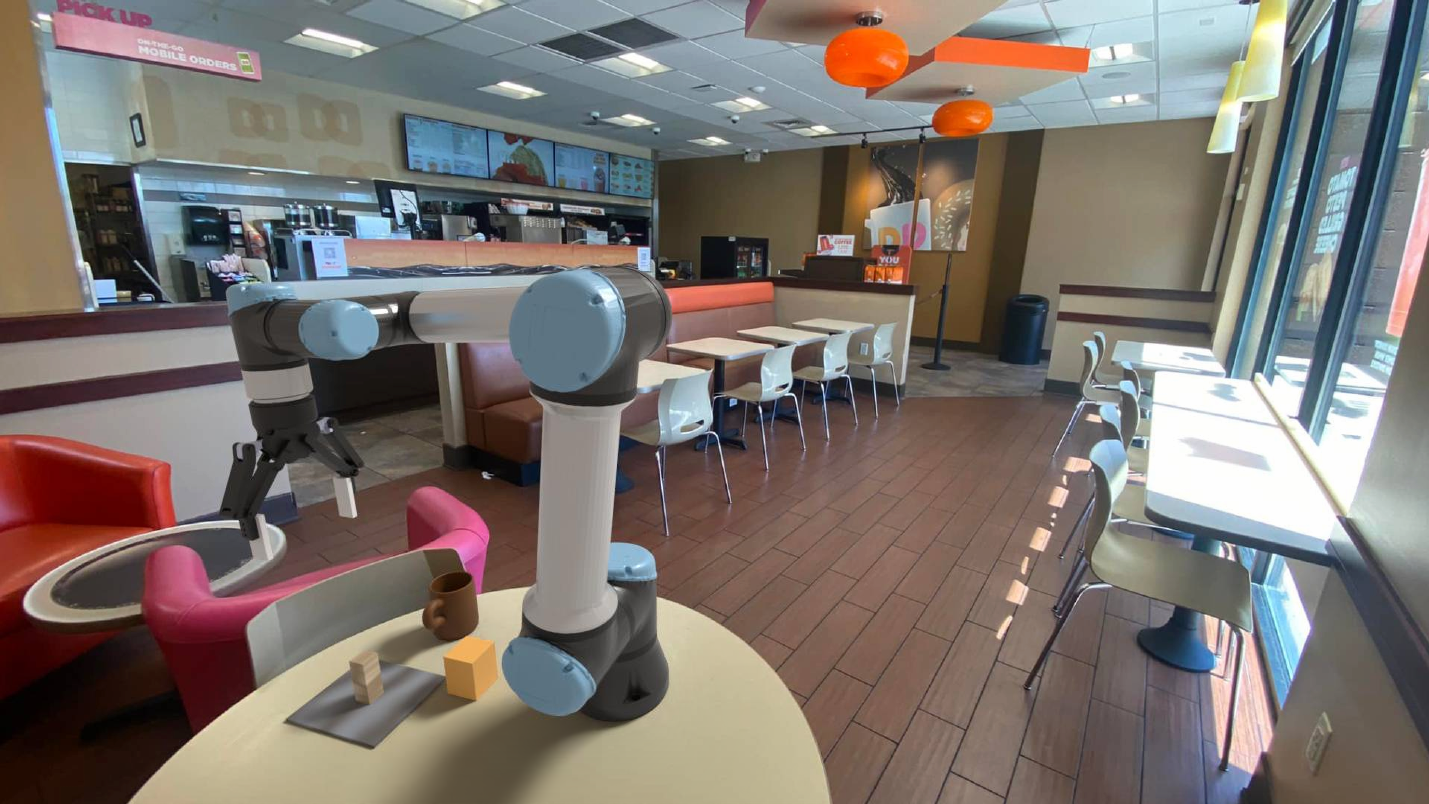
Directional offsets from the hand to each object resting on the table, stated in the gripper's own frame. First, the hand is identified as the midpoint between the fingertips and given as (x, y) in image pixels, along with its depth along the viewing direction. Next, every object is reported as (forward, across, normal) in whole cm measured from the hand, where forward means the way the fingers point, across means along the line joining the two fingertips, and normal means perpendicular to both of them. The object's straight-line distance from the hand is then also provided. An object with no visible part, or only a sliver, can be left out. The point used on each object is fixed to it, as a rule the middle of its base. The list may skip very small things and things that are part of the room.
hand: (309, 535), depth 87 cm
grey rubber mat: (+25, +2, +8) cm, 27 cm away
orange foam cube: (+25, -5, +22) cm, 34 cm away
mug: (+25, -14, +10) cm, 31 cm away
